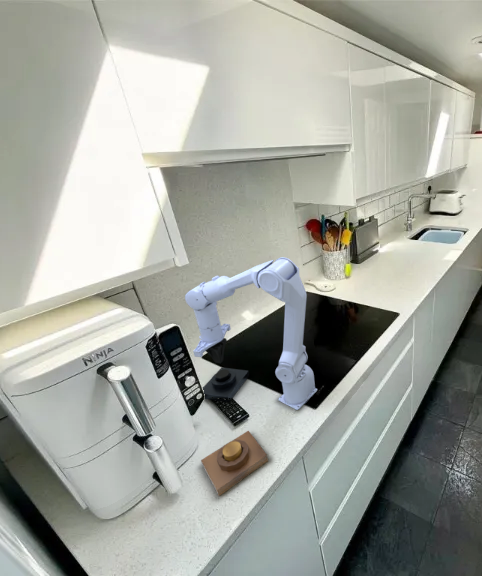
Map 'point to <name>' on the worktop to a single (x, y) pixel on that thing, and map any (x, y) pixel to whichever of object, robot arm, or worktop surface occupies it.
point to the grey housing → (225, 385)
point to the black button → (222, 375)
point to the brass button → (232, 451)
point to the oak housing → (234, 463)
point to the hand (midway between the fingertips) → (219, 361)
